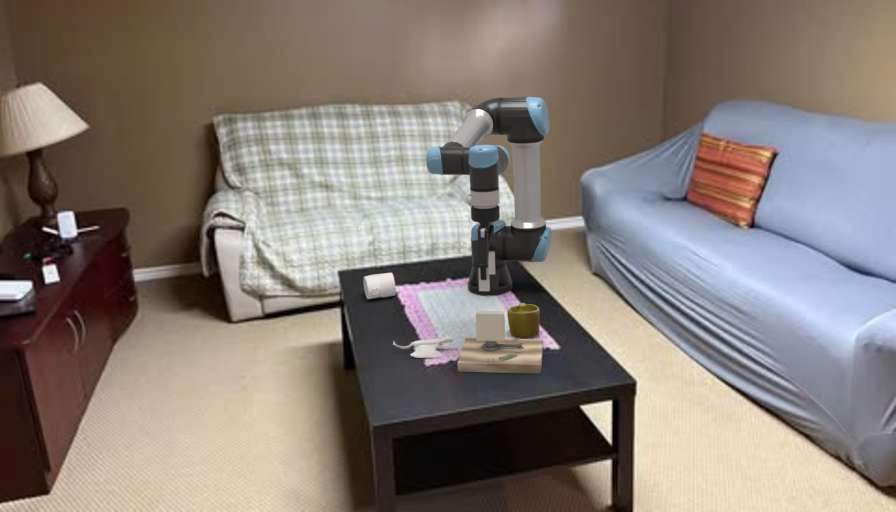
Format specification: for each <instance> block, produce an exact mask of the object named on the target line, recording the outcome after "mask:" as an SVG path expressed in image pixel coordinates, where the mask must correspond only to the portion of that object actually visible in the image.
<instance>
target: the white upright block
mask: <svg viewBox="0 0 896 512" xmlns="http://www.w3.org/2000/svg"><path fill="white" fill-rule="evenodd" d="M505 319H506V318H505V310H476V312H475V325H476V326H475V330H476V331H475V333H476V338H477V341H486V343H485V344H483V345H482V349H483V350H485V351H497V350H499V349H500V347H522V344H498V343H497V341H505V339H506V325H505V324H506V323H505V322H506V321H505Z"/></svg>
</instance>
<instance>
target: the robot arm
mask: <svg viewBox="0 0 896 512" xmlns="http://www.w3.org/2000/svg"><path fill="white" fill-rule="evenodd" d="M549 132H550V115H549V109H548V106H547V103H546V101H545V100H544V99H543V98H541V97H536V96H535V97H534V96H517V97H515V96H513V97H501V96H500V97H493V98H489V99H486V100H483V101H481V102H480V103H478V104H476V105H475V106H473V107H472V108H470V110H468V112H467V113H466V114H465V115H464V116H463V120H462V124H461V125H460V126H459V127H458V128H457V130H456V131H455V132H453V134H452V135H451V137H449V139H448V140H447V141H446V142H445V144H444V145H443V146H431V147H430V148H428V150H427V153H426V160H425V161H426V168H427V171H428V172H429V174H431V175H440V176H451V175H452V176H469V190H470V191H469V192H468V194H467V195H468V197H470V204H471V206H470V216H471V217H470V218H471V221H472V222H474V223H476V224H474V225H473V226H472V228H471V230H470V244H471V245H470V246H471V247H470V248H471V265H472V266H471V269H470V270H471V271H470V275H469V277H468V280H467V289H468V291H469V292H470V293H472V294H474V295H479V296H487V295H490V296H497V295H498V296H500V295H503V293H504V294H507V293H509V292H510V291H511V290H513V280H512V277H511V275H510V271H509V270H508V267H507V262H527V263H543V262H544V261H546V260H547V258H548V255H549V251H550V247H551V241H552V228H551V227H549V226H547V220H545V218H543V217H542V206H541V205H542V202H541V201H542V198H541V197H542V195H541V193H542V192H541V191H542V190H541V159H540V158H541V156H540V155H541V152H540V145H541V144H542V143H543V142H544V141H545V137H546V136H547V135H548V134H549ZM489 136H506V138H507V139H506V140H507V141H506V142H507V143H508V144H509V145H510V146H511V148H512V171H513V172H512V173H513V178H512V179H513V198H514V199H513V200H514V202H513V203H514V217H513V219H512V220H511V221H510V225H507V223H506V221H505V220H503V219H502V220H501V219H500V217H501V216H500V215H501V214H500V213H501V212H500V211H501V210H500V209H501V208H500V206H499V204H500V186H499V184H500V182H499V181H500V179H499V175H501V174H502V173H504V172H505V171H506V170H507V169H508V166H509V165H510V161H511V157H510V156H511V155H510V152H509V150H508V149H507V148H505V147H504V146H503V145H498V144H495V145H493V144H480V143H481V141H482V140H483V139H486V138H487V137H489Z"/></svg>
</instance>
